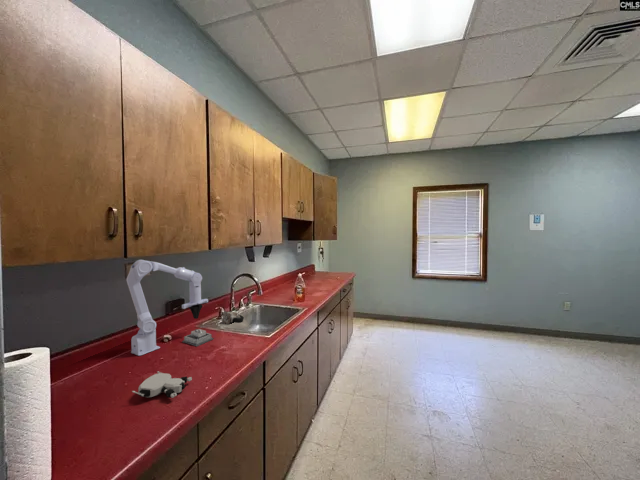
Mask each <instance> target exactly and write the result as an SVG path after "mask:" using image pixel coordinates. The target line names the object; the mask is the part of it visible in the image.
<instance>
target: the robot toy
mask: <svg viewBox="0 0 640 480" xmlns="http://www.w3.org/2000/svg"><path fill="white" fill-rule="evenodd" d="M156 372H157V373H154V374H153V375H150V376H149V377H148V378H145V379H144V380H143V382H142V383H140V384H139V386H138V391H135V390H131V392H132V393H134V394H137V395H138V396H140V397H144V398H152V397H156V396H158V395H160V394H161V393H163V394H165V395H166V397H167V398H170V399H171V398H172V399H173V398H175V397H177V395H178V394H179V393H181V392H182V391H184V390H185V388H186V384H187V382H191V381H192V380H193V378H192V376H189V377H188V376H181V377H180V378H179V377H178V378H177V377H174V378H172V375H171V374H170V373H166V372H165V373H164V372H162V371H156Z"/></svg>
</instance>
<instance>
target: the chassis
mask: <svg viewBox="0 0 640 480" xmlns="http://www.w3.org/2000/svg"><path fill="white" fill-rule="evenodd" d="M183 338H184V339H183V340H182V341H181V342H182V343H183V344H187V345H189V346H190V345H191V346H194V347H199V346H201V345H203V344H206V343H208V342H211V341H213V340H214V339H215V338H214V337H212V334H211V333H209V332H206V336H204V337H202V338H199V339H193V338H191V333H190V334H187V335H186V336H185V335H184V337H183Z"/></svg>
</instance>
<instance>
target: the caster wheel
mask: <svg viewBox="0 0 640 480" xmlns="http://www.w3.org/2000/svg"><path fill="white" fill-rule="evenodd" d="M221 322H222V323H224V324H227V325H230V323H235V324H241V323H243V322H244V316H242V315H241V314H238V313H237V312H236V311H225V310H223V314H222V317H221Z"/></svg>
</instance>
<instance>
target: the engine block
mask: <svg viewBox="0 0 640 480" xmlns="http://www.w3.org/2000/svg"><path fill="white" fill-rule="evenodd" d="M206 333H207V330H206V329H205V330H204V329H201V328H198V329H197V328H196V329H194V330H191V331H190V334H191V338H193V339H199V338H202V337H204V336H206Z"/></svg>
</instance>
